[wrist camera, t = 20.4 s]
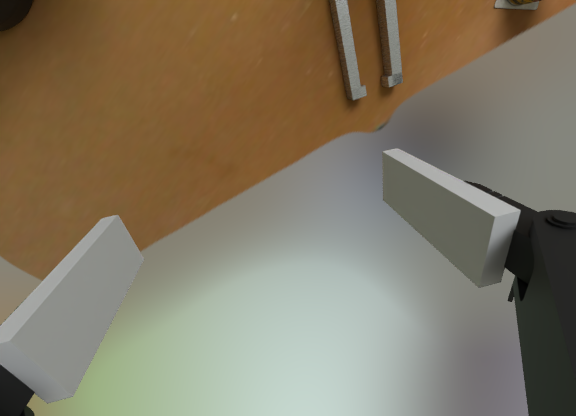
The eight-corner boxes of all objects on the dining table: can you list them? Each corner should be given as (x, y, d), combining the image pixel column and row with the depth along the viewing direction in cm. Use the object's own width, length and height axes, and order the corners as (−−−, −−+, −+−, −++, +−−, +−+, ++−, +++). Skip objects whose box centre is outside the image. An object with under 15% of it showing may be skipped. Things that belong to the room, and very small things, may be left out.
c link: (353, 100, 40) (325, -54, 31) (347, 98, 42) (320, -46, 34) (402, 82, 40) (389, -77, 31) (394, 81, 42) (379, -68, 33)
